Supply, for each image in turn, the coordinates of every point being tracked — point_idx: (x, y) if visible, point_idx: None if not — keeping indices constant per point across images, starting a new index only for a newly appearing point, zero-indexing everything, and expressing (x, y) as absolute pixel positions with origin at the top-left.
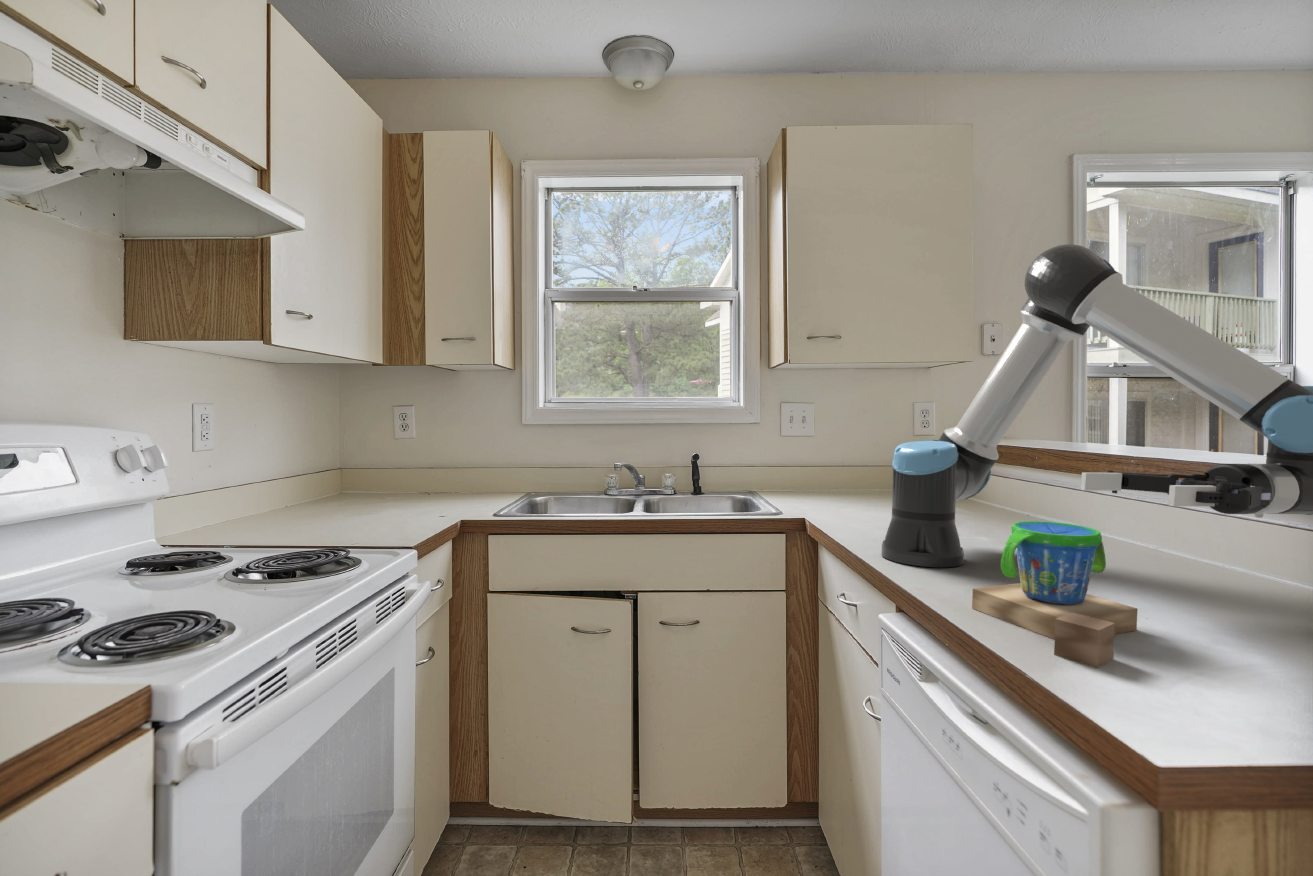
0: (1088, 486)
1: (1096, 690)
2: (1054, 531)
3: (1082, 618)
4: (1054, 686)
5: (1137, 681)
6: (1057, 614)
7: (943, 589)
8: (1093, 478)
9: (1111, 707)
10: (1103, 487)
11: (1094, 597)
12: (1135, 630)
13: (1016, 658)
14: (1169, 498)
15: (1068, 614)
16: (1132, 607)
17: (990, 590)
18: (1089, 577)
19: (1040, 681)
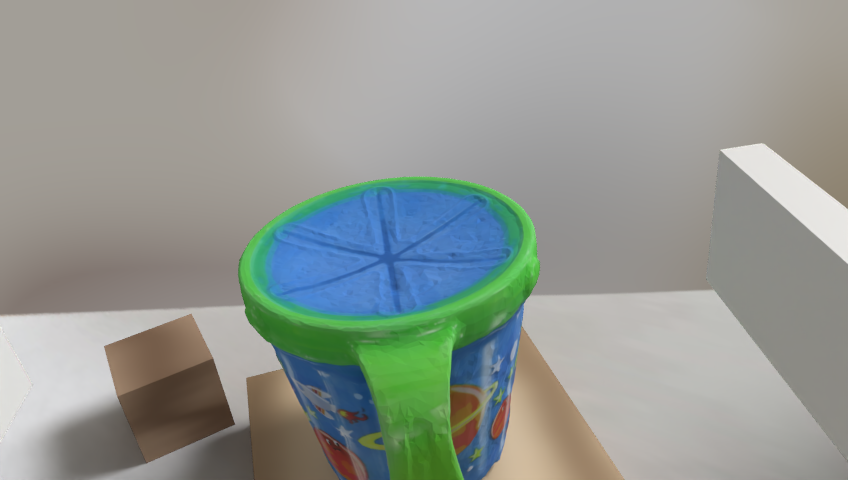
0: (721, 270)
1: (72, 360)
2: (415, 264)
3: (171, 356)
4: (114, 320)
5: (54, 437)
6: (280, 383)
7: (698, 354)
8: (756, 233)
9: (27, 349)
10: (809, 380)
11: None
12: None
13: (221, 319)
14: (4, 345)
15: (203, 345)
16: None
17: None
18: (314, 428)
19: (136, 313)
